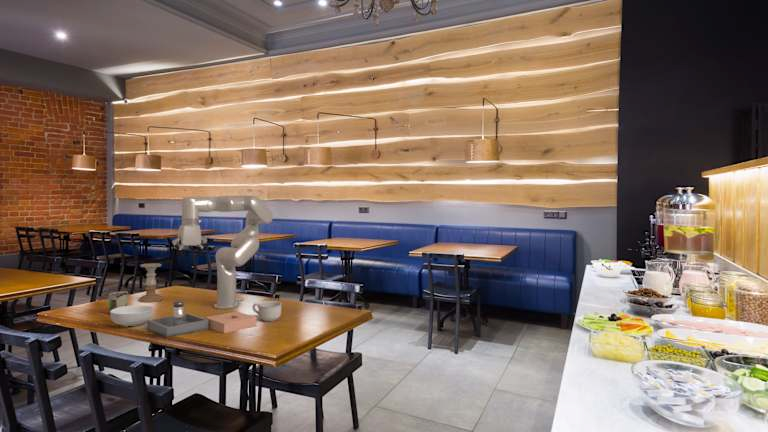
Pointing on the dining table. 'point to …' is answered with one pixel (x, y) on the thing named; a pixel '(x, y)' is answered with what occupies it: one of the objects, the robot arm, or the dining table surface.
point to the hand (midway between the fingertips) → (189, 257)
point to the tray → (168, 330)
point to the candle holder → (150, 284)
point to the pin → (178, 313)
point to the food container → (118, 299)
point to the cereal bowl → (131, 315)
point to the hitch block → (231, 322)
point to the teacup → (268, 310)
